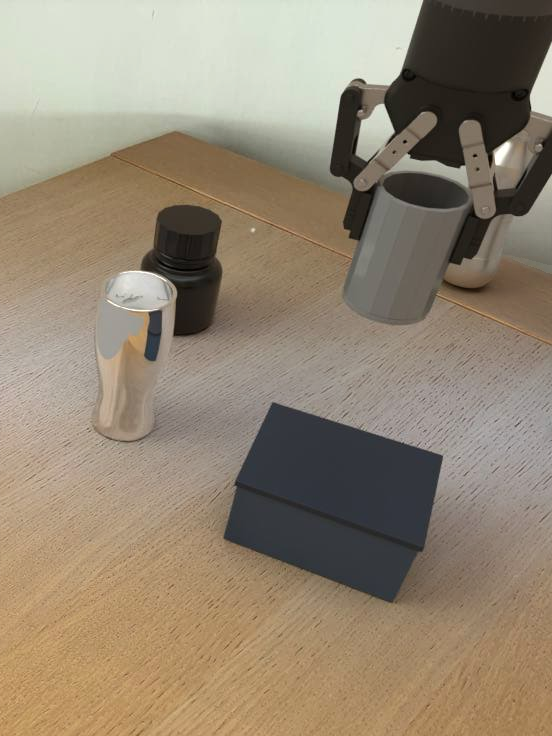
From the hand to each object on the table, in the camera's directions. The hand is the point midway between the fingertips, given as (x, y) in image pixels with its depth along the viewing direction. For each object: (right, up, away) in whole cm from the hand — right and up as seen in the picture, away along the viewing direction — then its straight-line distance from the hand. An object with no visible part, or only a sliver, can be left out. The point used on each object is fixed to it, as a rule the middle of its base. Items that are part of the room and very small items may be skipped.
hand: (404, 246), depth 59 cm
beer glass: (-17, -13, +22) cm, 31 cm away
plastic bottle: (+27, +4, +42) cm, 50 cm away
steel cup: (0, -4, +3) cm, 5 cm away
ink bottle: (-9, -1, +36) cm, 37 cm away
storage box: (-2, -22, +12) cm, 25 cm away
